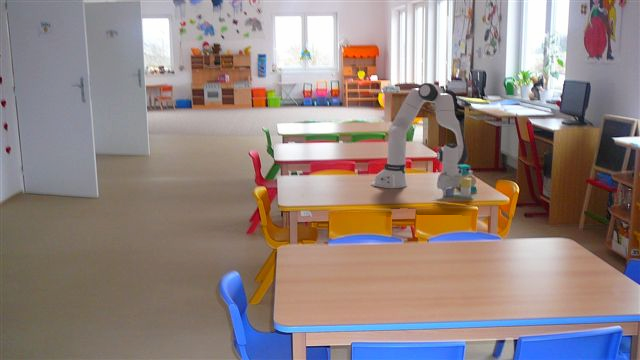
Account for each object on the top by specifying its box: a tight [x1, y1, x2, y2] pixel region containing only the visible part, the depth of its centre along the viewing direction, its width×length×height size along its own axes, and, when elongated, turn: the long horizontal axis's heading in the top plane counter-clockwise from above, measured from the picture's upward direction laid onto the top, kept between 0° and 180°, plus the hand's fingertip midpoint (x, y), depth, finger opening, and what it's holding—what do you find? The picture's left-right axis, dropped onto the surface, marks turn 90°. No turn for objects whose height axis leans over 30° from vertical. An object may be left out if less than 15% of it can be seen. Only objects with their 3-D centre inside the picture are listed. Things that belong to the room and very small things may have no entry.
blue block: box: [442, 187, 455, 197], centre depth 390 cm, size 5×5×5 cm
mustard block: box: [461, 178, 472, 188], centre depth 389 cm, size 5×5×5 cm
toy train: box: [456, 163, 478, 193], centre depth 407 cm, size 8×17×15 cm, turn 15°
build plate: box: [452, 191, 479, 200], centre depth 391 cm, size 13×13×1 cm
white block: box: [460, 187, 472, 197], centre depth 390 cm, size 5×5×5 cm
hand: (448, 194), depth 391 cm, fingers closed on blue block, 6 cm apart
